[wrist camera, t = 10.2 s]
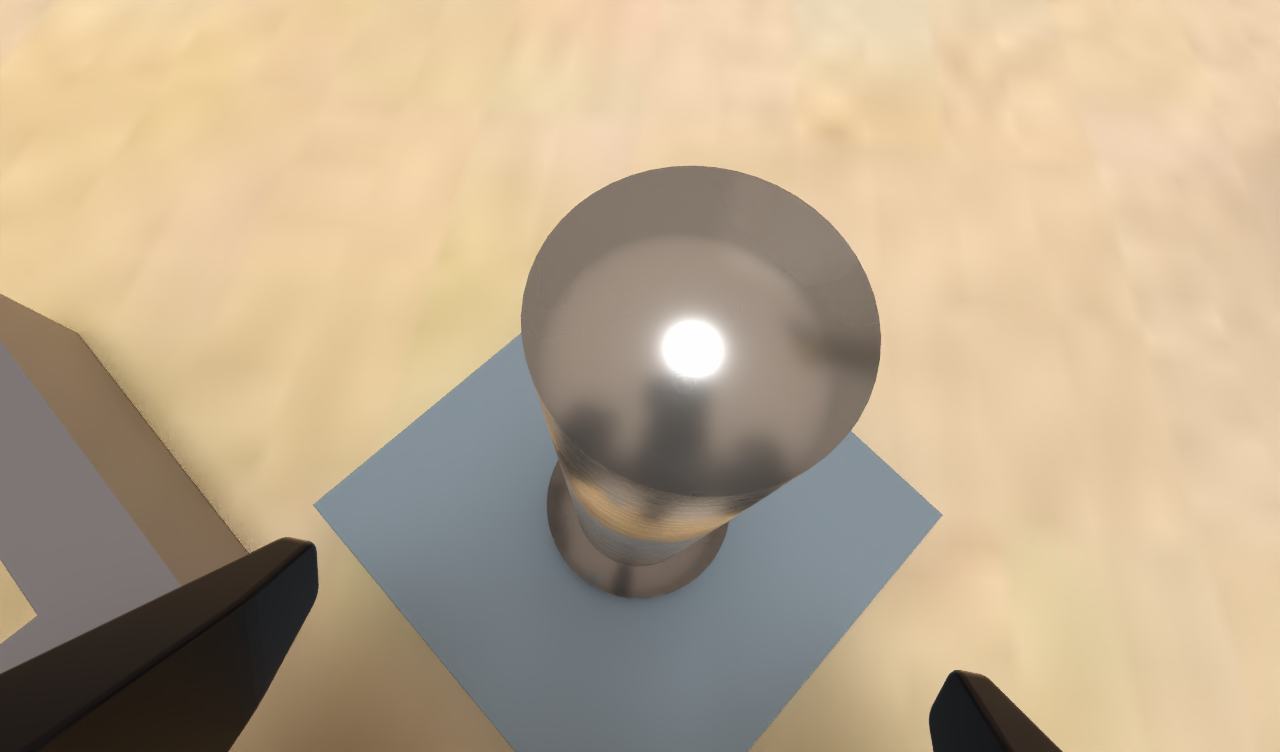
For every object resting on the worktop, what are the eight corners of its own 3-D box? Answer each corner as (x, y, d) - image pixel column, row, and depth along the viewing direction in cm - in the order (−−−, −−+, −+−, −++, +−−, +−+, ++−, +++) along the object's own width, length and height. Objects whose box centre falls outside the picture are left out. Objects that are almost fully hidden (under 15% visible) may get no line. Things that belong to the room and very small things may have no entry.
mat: (925, 519, 18) (942, 515, 17) (629, 874, 15) (631, 892, 14) (636, 252, 21) (638, 236, 20) (328, 509, 18) (312, 504, 17)
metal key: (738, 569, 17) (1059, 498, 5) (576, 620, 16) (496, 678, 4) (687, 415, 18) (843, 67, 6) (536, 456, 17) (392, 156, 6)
